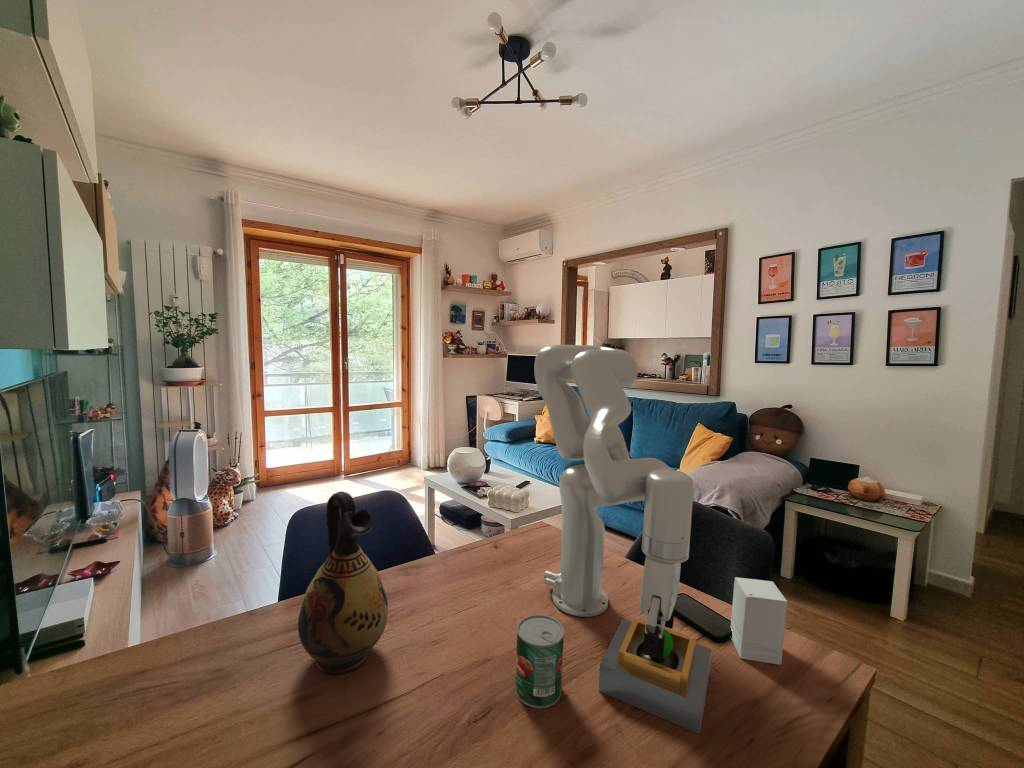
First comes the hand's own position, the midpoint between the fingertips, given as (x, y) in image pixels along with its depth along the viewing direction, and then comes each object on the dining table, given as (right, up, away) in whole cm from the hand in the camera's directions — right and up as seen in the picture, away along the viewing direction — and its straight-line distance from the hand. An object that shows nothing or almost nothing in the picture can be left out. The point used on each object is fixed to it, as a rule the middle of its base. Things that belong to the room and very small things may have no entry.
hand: (658, 639), depth 77 cm
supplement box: (+22, -8, +10) cm, 26 cm away
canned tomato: (-21, -8, -1) cm, 22 cm away
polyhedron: (0, -3, 0) cm, 3 cm away
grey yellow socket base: (0, -8, +2) cm, 8 cm away
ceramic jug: (-57, -6, +6) cm, 57 cm away
